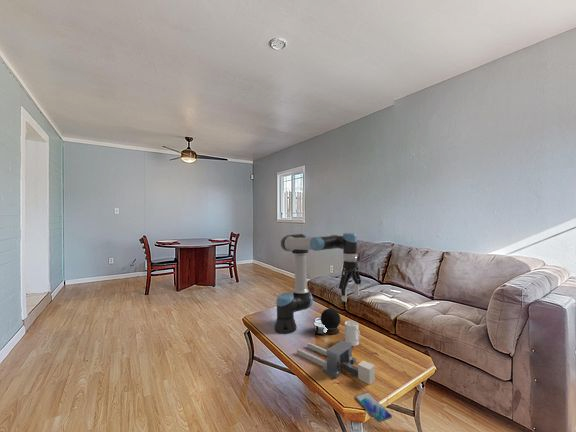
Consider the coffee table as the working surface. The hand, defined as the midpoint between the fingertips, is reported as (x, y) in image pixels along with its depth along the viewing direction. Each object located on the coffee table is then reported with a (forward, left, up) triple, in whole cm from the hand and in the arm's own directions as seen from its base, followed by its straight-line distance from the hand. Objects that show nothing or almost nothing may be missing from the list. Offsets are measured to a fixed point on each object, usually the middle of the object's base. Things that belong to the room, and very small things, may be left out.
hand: (350, 298), depth 148 cm
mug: (-5, +11, -32) cm, 34 cm away
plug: (+12, -15, -32) cm, 37 cm away
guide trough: (-12, -15, -32) cm, 37 cm away
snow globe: (-25, +16, -32) cm, 44 cm away
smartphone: (+27, -30, -32) cm, 52 cm away
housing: (+2, -15, -32) cm, 35 cm away
